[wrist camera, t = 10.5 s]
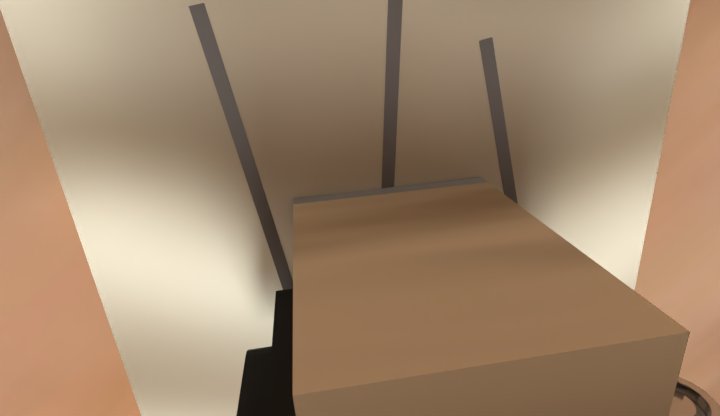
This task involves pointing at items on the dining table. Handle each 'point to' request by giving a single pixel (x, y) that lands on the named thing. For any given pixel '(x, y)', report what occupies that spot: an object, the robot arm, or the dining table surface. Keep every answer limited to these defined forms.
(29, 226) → the dining table surface
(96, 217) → the board
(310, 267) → the block
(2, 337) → the dining table surface
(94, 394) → the dining table surface
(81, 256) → the dining table surface
